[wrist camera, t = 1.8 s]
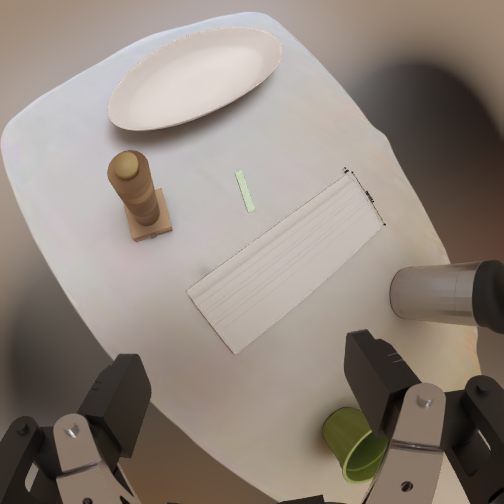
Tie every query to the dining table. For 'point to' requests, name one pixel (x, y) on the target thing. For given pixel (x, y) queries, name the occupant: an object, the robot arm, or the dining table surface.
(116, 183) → the brown peg on stand
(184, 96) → the bowl
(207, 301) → the baseboard molding
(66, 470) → the robot arm
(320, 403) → the dining table surface
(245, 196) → the tape mark
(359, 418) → the plant pot
